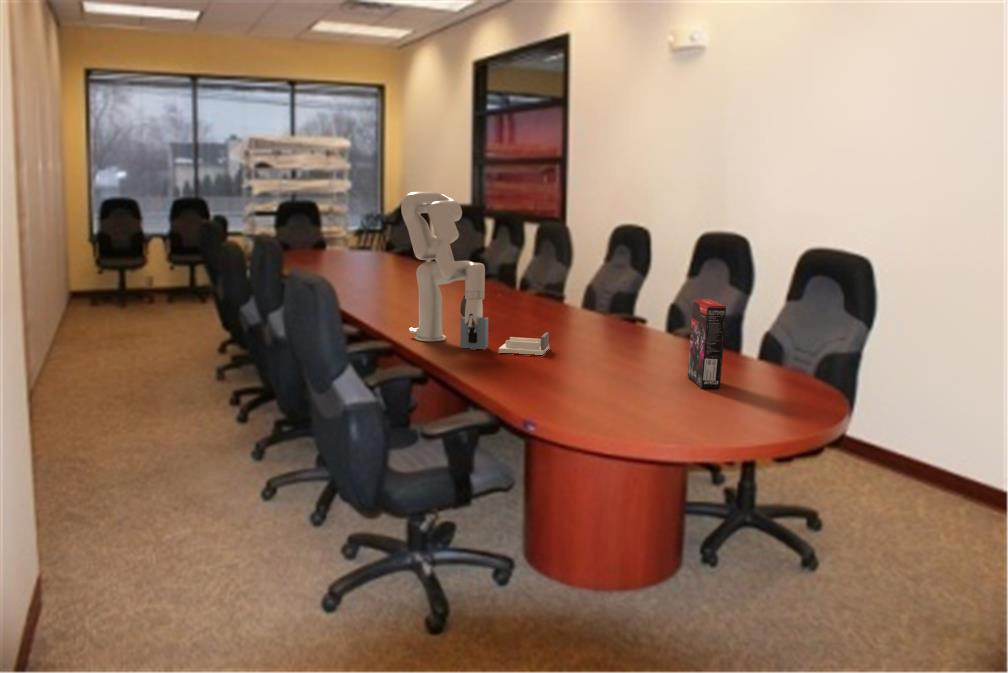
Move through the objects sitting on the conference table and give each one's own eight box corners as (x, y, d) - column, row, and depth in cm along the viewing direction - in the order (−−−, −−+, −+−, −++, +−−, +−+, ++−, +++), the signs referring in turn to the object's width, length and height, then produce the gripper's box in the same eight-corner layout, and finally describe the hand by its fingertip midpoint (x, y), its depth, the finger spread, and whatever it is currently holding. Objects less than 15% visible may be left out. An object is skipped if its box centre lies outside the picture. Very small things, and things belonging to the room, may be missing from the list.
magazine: (485, 309, 389) (469, 281, 414) (477, 309, 388) (462, 281, 413) (481, 343, 396) (466, 314, 422) (474, 344, 395) (459, 314, 421)
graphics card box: (686, 377, 303) (690, 298, 299) (706, 377, 304) (711, 298, 299) (701, 389, 287) (706, 305, 282) (722, 389, 287) (727, 305, 282)
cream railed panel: (498, 353, 338) (499, 335, 337) (506, 346, 351) (507, 329, 350) (542, 356, 334) (543, 338, 333) (549, 349, 348) (549, 331, 346)
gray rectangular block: (460, 348, 347) (460, 318, 344) (463, 346, 350) (463, 316, 348) (485, 350, 344) (485, 319, 342) (487, 348, 348) (488, 317, 346)
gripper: (471, 291, 352) (470, 337, 356) (459, 297, 336) (459, 345, 340) (489, 292, 351) (488, 338, 354) (478, 298, 335) (478, 346, 338)
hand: (474, 341), depth 347 cm, fingers closed on gray rectangular block, 4 cm apart
